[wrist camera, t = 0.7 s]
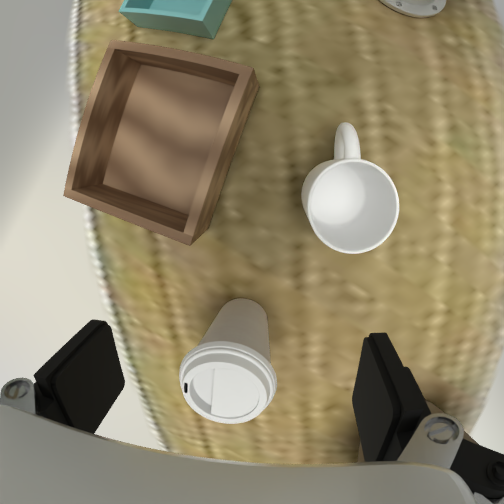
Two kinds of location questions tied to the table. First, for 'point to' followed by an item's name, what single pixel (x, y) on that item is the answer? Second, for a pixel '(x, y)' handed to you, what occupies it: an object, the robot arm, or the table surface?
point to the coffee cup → (231, 366)
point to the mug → (350, 198)
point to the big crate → (160, 137)
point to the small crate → (177, 15)
